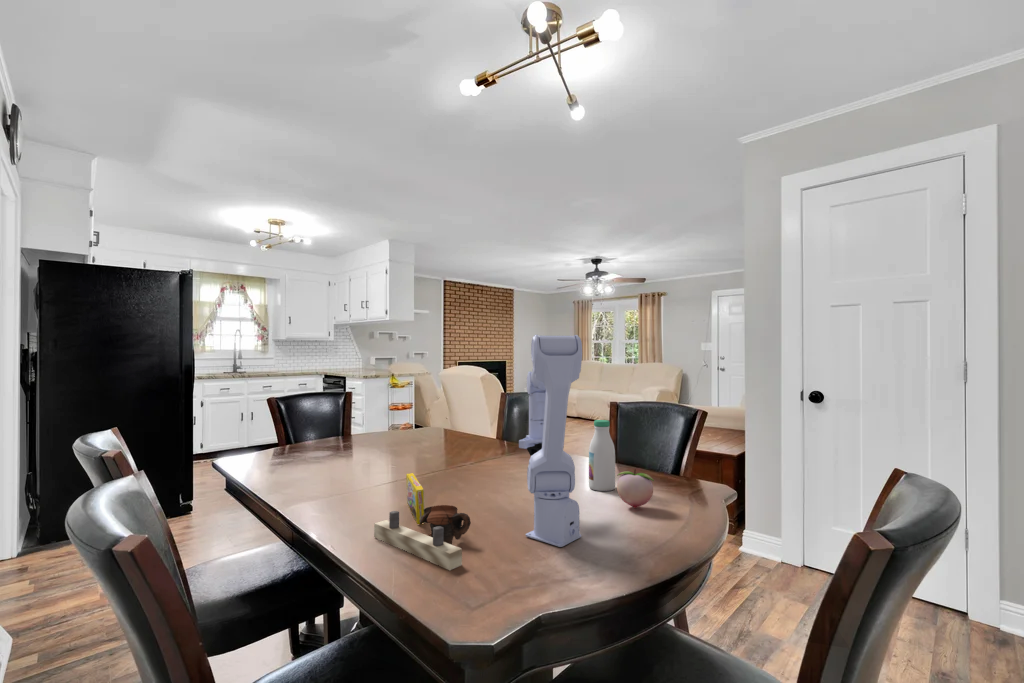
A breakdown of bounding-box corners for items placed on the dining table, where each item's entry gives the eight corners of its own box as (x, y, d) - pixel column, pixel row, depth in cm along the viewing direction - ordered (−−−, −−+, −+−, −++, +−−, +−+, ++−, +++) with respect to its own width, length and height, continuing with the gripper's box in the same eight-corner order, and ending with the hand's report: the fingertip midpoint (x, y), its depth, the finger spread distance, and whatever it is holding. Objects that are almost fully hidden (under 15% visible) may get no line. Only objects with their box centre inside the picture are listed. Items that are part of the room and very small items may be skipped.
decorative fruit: (615, 511, 120) (614, 471, 121) (617, 502, 128) (617, 464, 128) (654, 515, 118) (653, 474, 118) (654, 505, 125) (654, 466, 126)
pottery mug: (409, 549, 98) (411, 507, 102) (433, 554, 105) (434, 515, 110) (462, 540, 94) (461, 498, 99) (482, 546, 102) (481, 507, 106)
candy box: (405, 505, 125) (406, 473, 125) (413, 504, 126) (414, 472, 126) (415, 525, 110) (416, 489, 110) (425, 524, 111) (425, 488, 111)
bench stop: (461, 565, 89) (462, 532, 89) (449, 570, 87) (450, 536, 87) (386, 533, 104) (386, 505, 105) (374, 537, 102) (374, 509, 102)
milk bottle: (619, 487, 143) (618, 420, 143) (609, 493, 136) (609, 422, 137) (594, 483, 147) (594, 418, 148) (584, 489, 140) (584, 420, 141)
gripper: (544, 415, 129) (544, 466, 129) (509, 420, 118) (509, 476, 118) (566, 417, 125) (566, 470, 124) (531, 423, 114) (531, 481, 113)
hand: (540, 473), depth 121 cm, fingers closed
